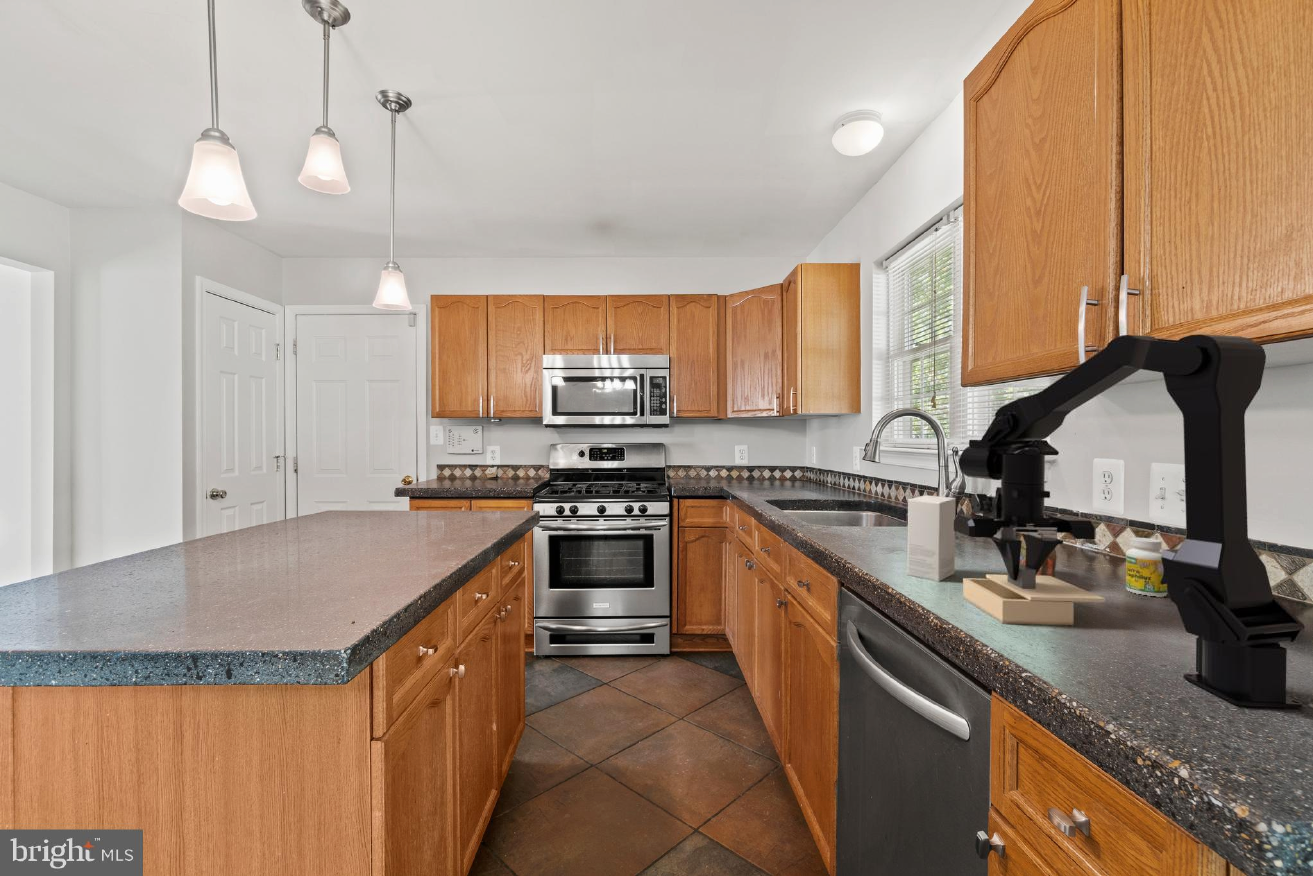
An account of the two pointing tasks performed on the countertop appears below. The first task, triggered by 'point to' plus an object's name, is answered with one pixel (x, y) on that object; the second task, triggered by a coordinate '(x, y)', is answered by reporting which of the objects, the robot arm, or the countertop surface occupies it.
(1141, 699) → the countertop surface
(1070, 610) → the carton
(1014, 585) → the carton lid
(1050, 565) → the tin
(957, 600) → the countertop surface
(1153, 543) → the supplement bottle
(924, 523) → the skincare box
